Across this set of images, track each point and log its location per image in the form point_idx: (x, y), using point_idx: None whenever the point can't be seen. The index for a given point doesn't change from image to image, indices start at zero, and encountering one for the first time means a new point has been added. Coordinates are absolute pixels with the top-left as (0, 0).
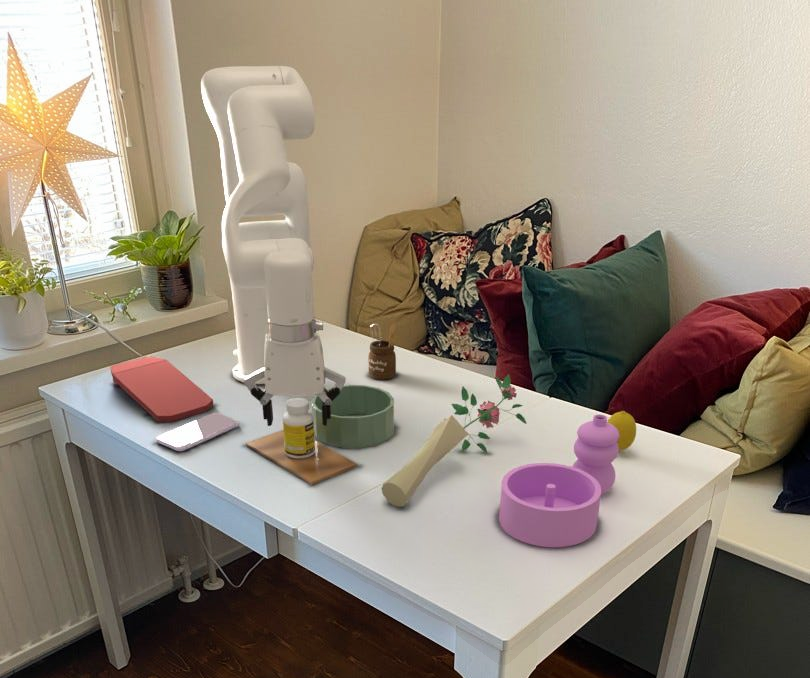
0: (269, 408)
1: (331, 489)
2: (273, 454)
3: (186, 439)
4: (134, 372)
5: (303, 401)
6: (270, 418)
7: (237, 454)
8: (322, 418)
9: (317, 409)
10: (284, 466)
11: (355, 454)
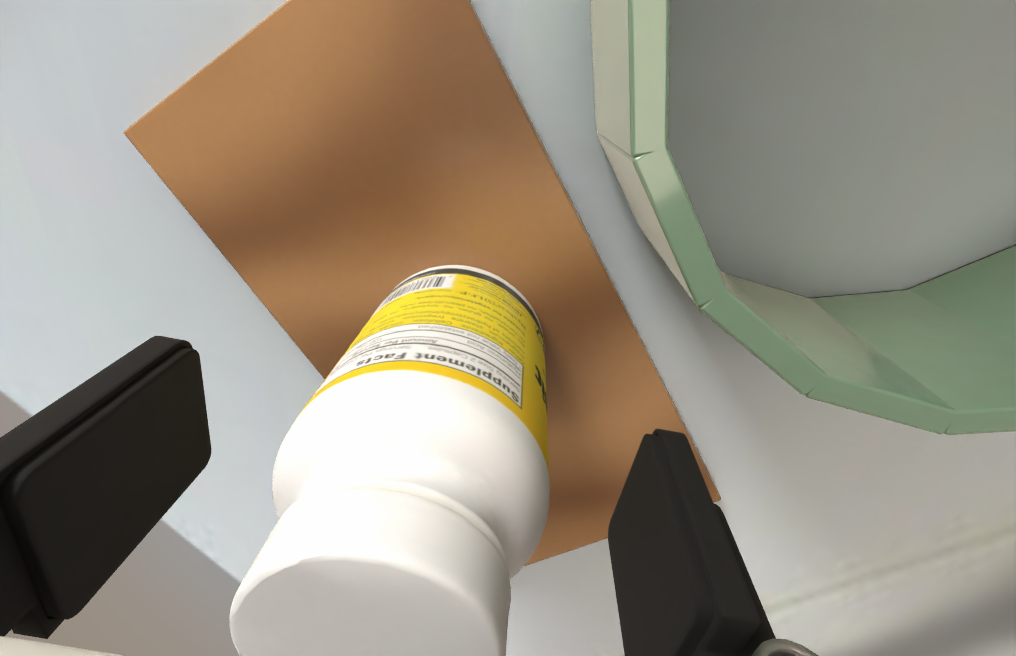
0: (80, 601)
1: (557, 602)
2: (314, 326)
3: None
4: None
5: (441, 647)
6: (163, 507)
7: (117, 236)
8: (616, 582)
9: (651, 168)
10: None
11: (757, 377)
